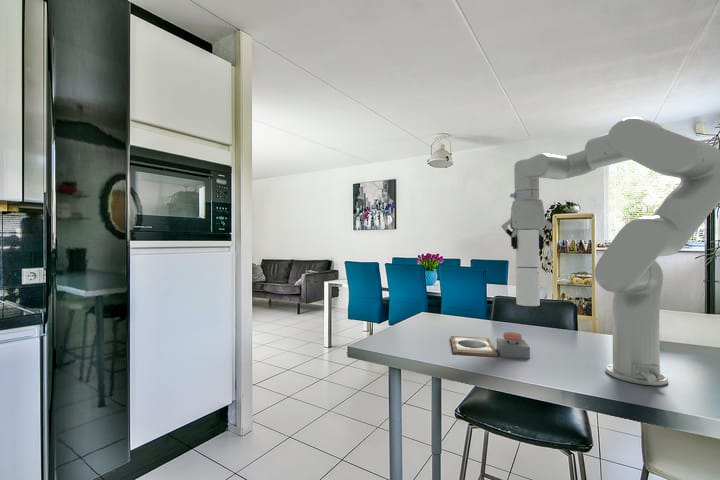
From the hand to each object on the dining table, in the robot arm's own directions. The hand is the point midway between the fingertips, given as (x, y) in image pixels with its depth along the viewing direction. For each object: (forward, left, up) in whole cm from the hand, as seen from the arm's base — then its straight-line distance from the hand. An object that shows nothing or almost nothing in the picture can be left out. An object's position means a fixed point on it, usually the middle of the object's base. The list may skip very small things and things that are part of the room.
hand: (527, 248), depth 117 cm
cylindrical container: (0, 0, -19) cm, 19 cm away
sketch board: (-6, +19, -33) cm, 38 cm away
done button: (-11, +7, -30) cm, 33 cm away
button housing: (-11, +7, -33) cm, 35 cm away
